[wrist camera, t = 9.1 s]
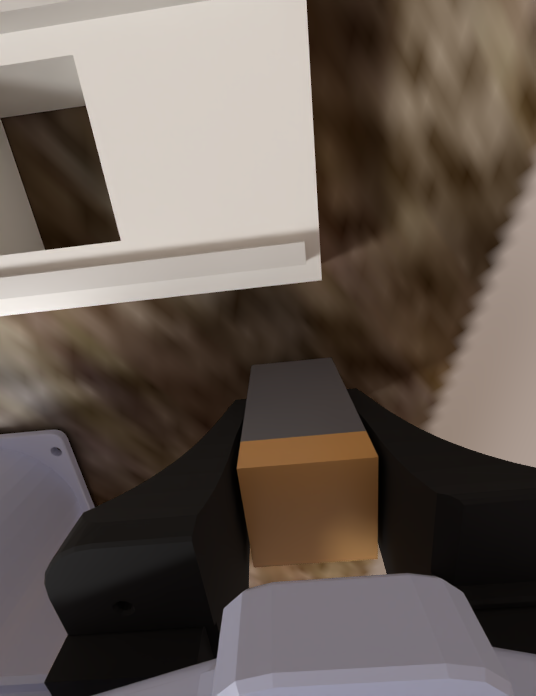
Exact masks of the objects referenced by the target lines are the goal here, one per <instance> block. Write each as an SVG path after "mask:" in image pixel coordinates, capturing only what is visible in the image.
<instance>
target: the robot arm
mask: <svg viewBox="0 0 536 696" xmlns="http://www.w3.org/2000/svg"><path fill="white" fill-rule="evenodd" d="M347 392H348V394H349V396H350V398H351V400H352V402H353V404H354V406H355V408H356V411H357V413H358V415H359V417H360V419H361V421H362V423H363V425H364V428H365V430H366V432H367V434H368V436H369V438H370V440H371V442H372V444H373V447H374V449H375V451H376V453H377V455H378V544H379V548H380V551H381V555H382V558H383V562H384V566H385V569H386V573H387V574H386V575H371V576H357V577H342V578H328V579H313V580H299V581H284V582H272V583H268V584H264V585H260V586H256V587H253V588H249V554H250V542H249V536H248V531H247V525H246V519H245V514H244V508H243V502H242V497H241V491H240V485H239V479H238V474H237V463H238V456H239V449H240V442H241V435H242V428H243V421H244V414H245V408H246V401H247V399H241V400H235V401H234V402H233V404H232V405H231V406H230V407H229V408H228V410H227V411H226V412H225V413H224V415H223V416H222V417H221V418H220V419H219V420H218V422H217V423H216V424H215V425H214V426H213V427H212V429H211V430H210V431H209V432H208V433H207V434H206V435H205V436H204V437H203V438H202V439H201V440H200V441H199V442H198V443H197V444H196V445H195V446H193V447H192V448H191V449H190V450H189V451H188V452H186V453H185V454H184V455H183V456H181V457H180V458H179V459H178V460H176V461H175V462H174V463H172V464H171V465H169V466H168V467H166V468H165V469H164V470H162V471H161V472H159V473H158V474H156V475H155V476H153V477H152V478H150V479H148V480H147V481H145V482H143V483H142V484H140V485H138V486H137V487H135V488H133V489H131V490H129V491H128V492H126V493H124V494H122V495H120V496H118V497H116V498H114V499H112V500H109V501H107V502H105V503H103V504H101V505H99V506H97V507H94V504H93V502H92V499H91V496H90V494H89V491H88V489H87V486H86V484H85V481H84V479H83V476H82V474H81V471H80V468H79V466H78V463H77V461H76V458H75V456H74V453H73V451H72V448H71V446H70V443H69V440H68V438H67V436H66V435H65V433H63V432H62V431H60V430H54V429H53V430H42V431H31V432H20V433H9V434H0V696H536V468H535V467H530V466H526V465H521V464H517V463H513V462H509V461H505V460H502V459H498V458H495V457H492V456H488V455H485V454H482V453H479V452H476V451H473V450H470V449H467V448H464V447H462V446H459V445H456V444H453V443H451V442H448V441H446V440H443V439H441V438H439V437H436V436H434V435H432V434H430V433H428V432H426V431H424V430H421V429H419V428H418V427H416V426H414V425H412V424H410V423H408V422H407V421H405V420H403V419H401V418H400V417H398V416H396V415H395V414H393V413H391V412H390V411H388V410H387V409H385V408H384V407H382V406H381V405H379V404H378V403H376V402H375V401H373V400H372V399H371V398H369V397H368V396H366V395H365V394H364V393H362V392H361V391H359V390H358V389H356V388H355V389H347ZM56 447H57V448H59V449H60V450H61V451H60V450H58V449H57V448H56Z"/></svg>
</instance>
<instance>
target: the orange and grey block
mask: <svg viewBox="0 0 536 696" xmlns="http://www.w3.org/2000/svg"><path fill="white" fill-rule="evenodd" d="M237 474H238V479H239V485H240V491H241V497H242V502H243V508H244V514H245V519H246V525H247V531H248V536H249V542H250V548H251V553H252V559H253V565H254V567H268V566H283V565H298V564H312V563H327V562H341V561H356V560H371V559H378V455H377V453H376V451H375V449H374V447H373V444H372V442H371V440H370V438H369V436H368V434H367V432H366V430H365V428H364V425H363V423H362V421H361V419H360V417H359V415H358V413H357V411H356V408H355V406H354V404H353V402H352V400H351V398H350V396H349V394H348V392H347V389H346V387H345V385H344V383H343V381H342V379H341V377H340V375H339V373H338V370H337V368H336V366H335V364H334V362H333V360H332V358H320V359H310V360H300V361H290V362H279V363H269V364H259V365H252V366H251V373H250V380H249V387H248V394H247V401H246V408H245V414H244V421H243V428H242V435H241V442H240V449H239V456H238V463H237Z"/></svg>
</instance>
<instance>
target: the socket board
mask: <svg viewBox="0 0 536 696" xmlns="http://www.w3.org/2000/svg"><path fill="white" fill-rule="evenodd" d="M80 106H86V108H87V111H88V115H89V119H90V123H91V127H92V131H93V135H94V139H95V142H96V146H97V150H98V154H99V158H100V162H101V166H102V169H103V173H104V177H105V181H106V185H107V189H108V193H109V197H110V200H111V204H112V208H113V212H114V216H115V220H116V224H117V227H118V231H119V235H120V239H121V241H116V242H107V243H99V244H91V245H83V246H75V247H66V248H58V249H50V250H45V248H44V245H43V242H42V239H41V236H40V233H39V230H38V227H37V224H36V222H35V219H34V216H33V213H32V210H31V207H30V204H29V201H28V198H27V195H26V192H25V189H24V186H23V183H22V180H21V177H20V174H19V171H18V168H17V166H16V163H15V160H14V157H13V154H12V151H11V148H10V145H9V142H8V139H7V136H6V133H5V130H4V127H3V124H2V121H1V118H5V117H12V116H18V115H25V114H32V113H39V112H46V111H52V110H59V109H66V108H73V107H80ZM319 280H322V275H321V257H320V239H319V220H318V202H317V184H316V166H315V148H314V130H313V112H312V94H311V76H310V57H309V39H308V21H307V3H306V0H0V316H5V315H14V314H23V313H32V312H41V311H50V310H59V309H68V308H77V307H86V306H95V305H104V304H113V303H122V302H131V301H140V300H149V299H158V298H167V297H176V296H185V295H194V294H203V293H212V292H220V291H229V290H238V289H247V288H256V287H265V286H274V285H283V284H292V283H301V282H310V281H319Z"/></svg>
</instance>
